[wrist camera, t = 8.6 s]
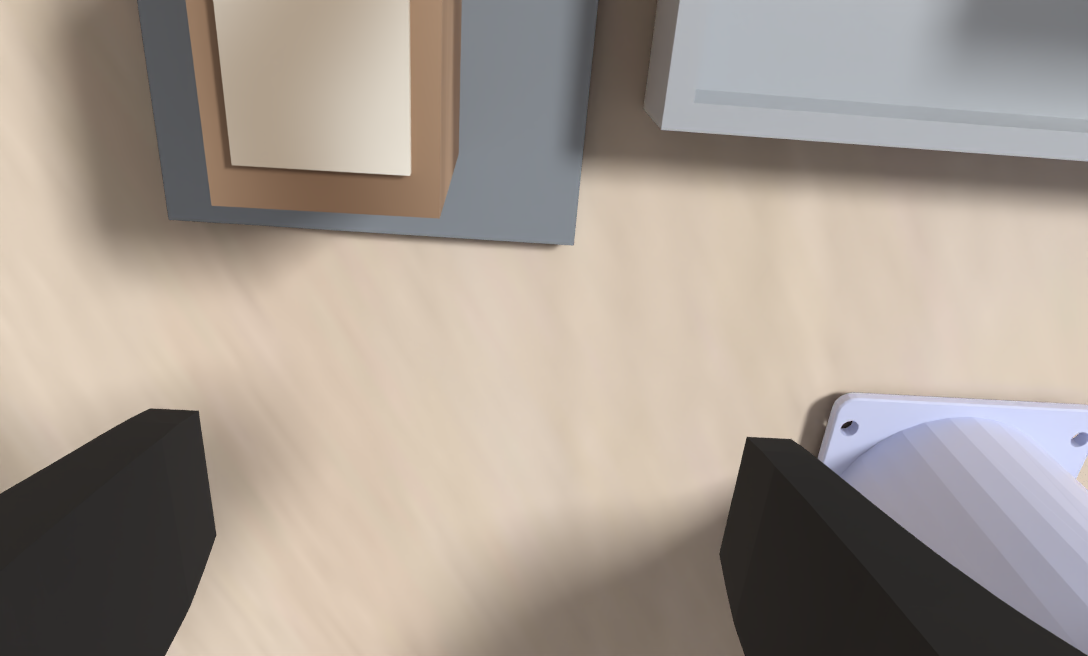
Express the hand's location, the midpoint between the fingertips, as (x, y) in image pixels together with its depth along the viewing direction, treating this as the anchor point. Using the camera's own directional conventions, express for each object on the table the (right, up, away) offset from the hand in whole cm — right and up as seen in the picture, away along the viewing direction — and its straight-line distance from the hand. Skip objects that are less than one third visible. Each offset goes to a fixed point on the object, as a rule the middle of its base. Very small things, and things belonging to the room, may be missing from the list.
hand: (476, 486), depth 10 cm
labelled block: (-3, +9, +6) cm, 12 cm away
